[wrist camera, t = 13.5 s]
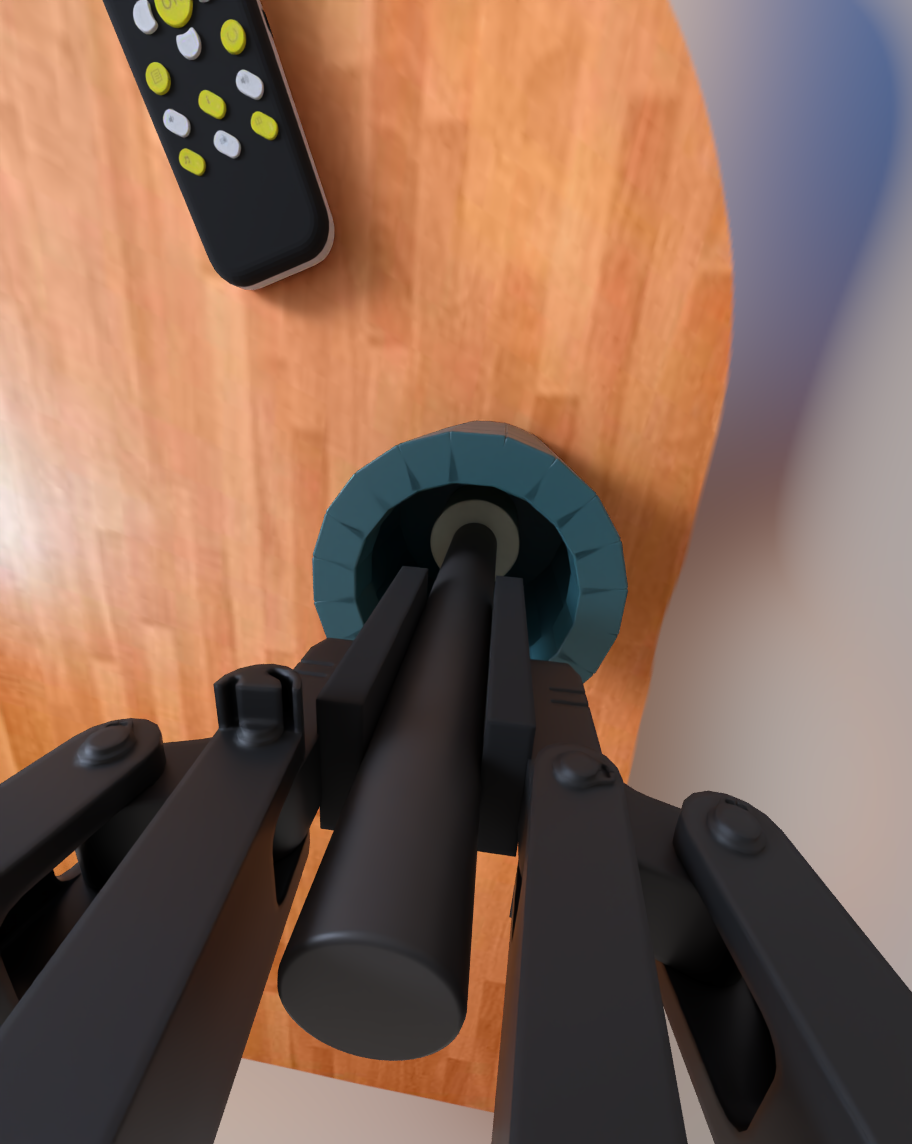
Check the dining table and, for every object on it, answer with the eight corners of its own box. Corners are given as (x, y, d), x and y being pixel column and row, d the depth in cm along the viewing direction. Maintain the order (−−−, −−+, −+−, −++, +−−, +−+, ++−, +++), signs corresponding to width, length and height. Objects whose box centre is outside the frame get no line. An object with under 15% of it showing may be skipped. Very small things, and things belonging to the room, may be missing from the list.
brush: (521, 485, 25) (601, 897, 4) (512, 557, 26) (539, 1145, 5) (446, 478, 25) (154, 831, 4) (441, 550, 26) (203, 1082, 6)
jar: (588, 428, 24) (659, 447, 13) (560, 607, 28) (595, 743, 16) (396, 413, 25) (306, 419, 14) (391, 589, 28) (316, 708, 17)
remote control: (239, 302, 24) (216, 293, 22) (112, -13, 20) (72, -56, 18) (347, 256, 23) (333, 242, 21) (234, -87, 19) (204, -141, 17)
